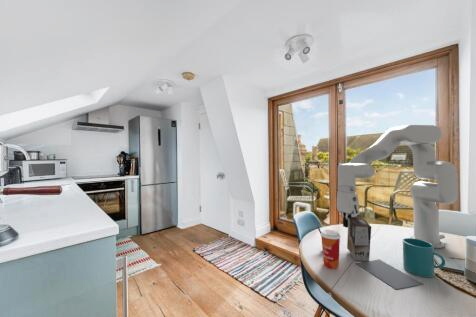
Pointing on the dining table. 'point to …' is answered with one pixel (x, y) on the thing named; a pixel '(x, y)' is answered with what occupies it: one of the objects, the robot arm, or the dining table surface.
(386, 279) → the mat
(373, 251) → the dining table surface
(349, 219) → the coffee box
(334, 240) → the paper cup
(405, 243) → the cup
